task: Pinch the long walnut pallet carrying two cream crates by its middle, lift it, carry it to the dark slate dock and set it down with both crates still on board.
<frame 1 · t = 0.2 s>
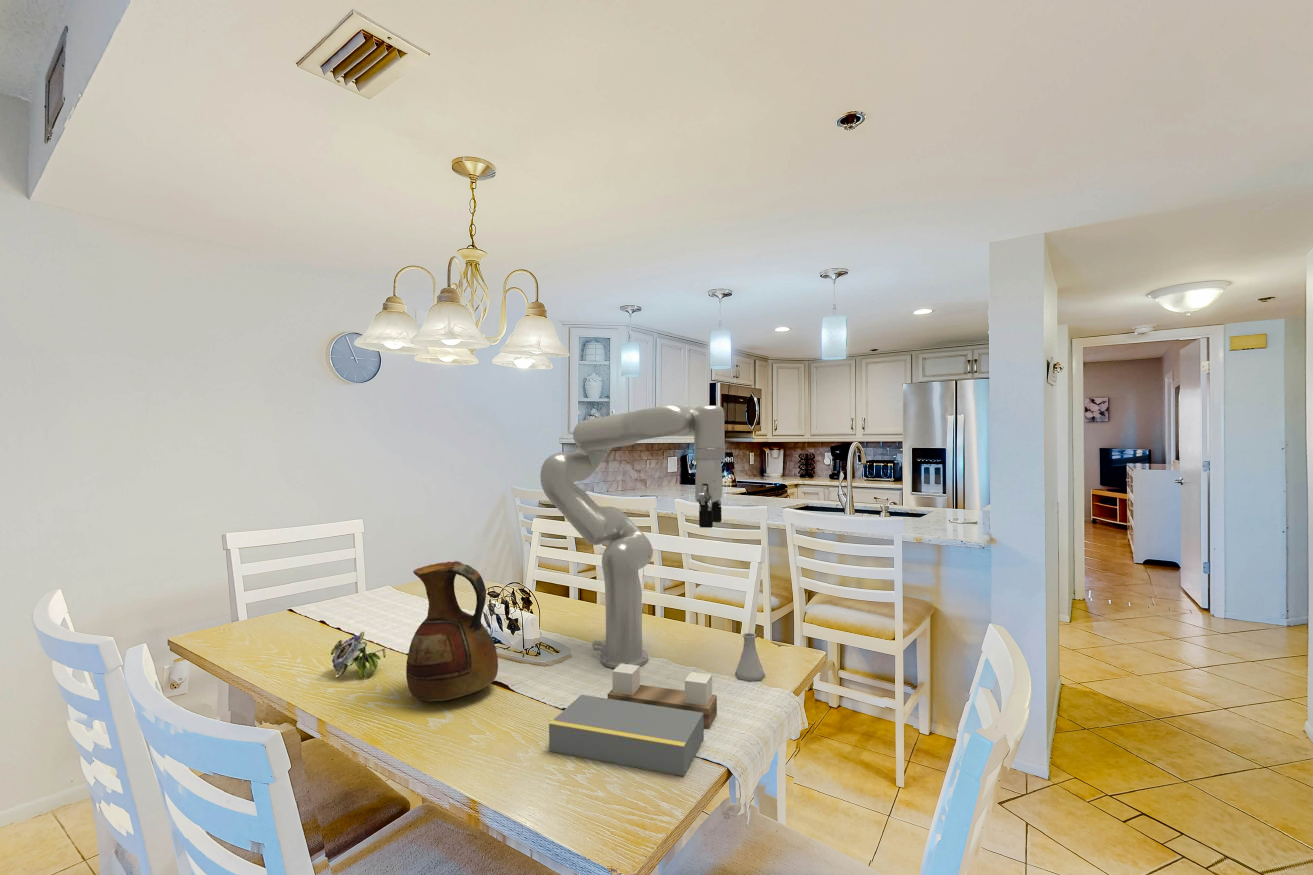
hand: (710, 524, 143), 36 cm above the table, tool pointing down, fingers open, 9 cm apart
passion flower: (356, 673, 145), on the table
pallet: (662, 713, 121), on the table, touching crate a, crate b
crate a: (626, 689, 123), point 4 cm above the table, touching pallet
dock: (627, 744, 108), on the table
flask: (750, 676, 140), on the table
crate b: (698, 699, 118), point 4 cm above the table, touching pallet
ceramic pitcher: (453, 693, 132), on the table
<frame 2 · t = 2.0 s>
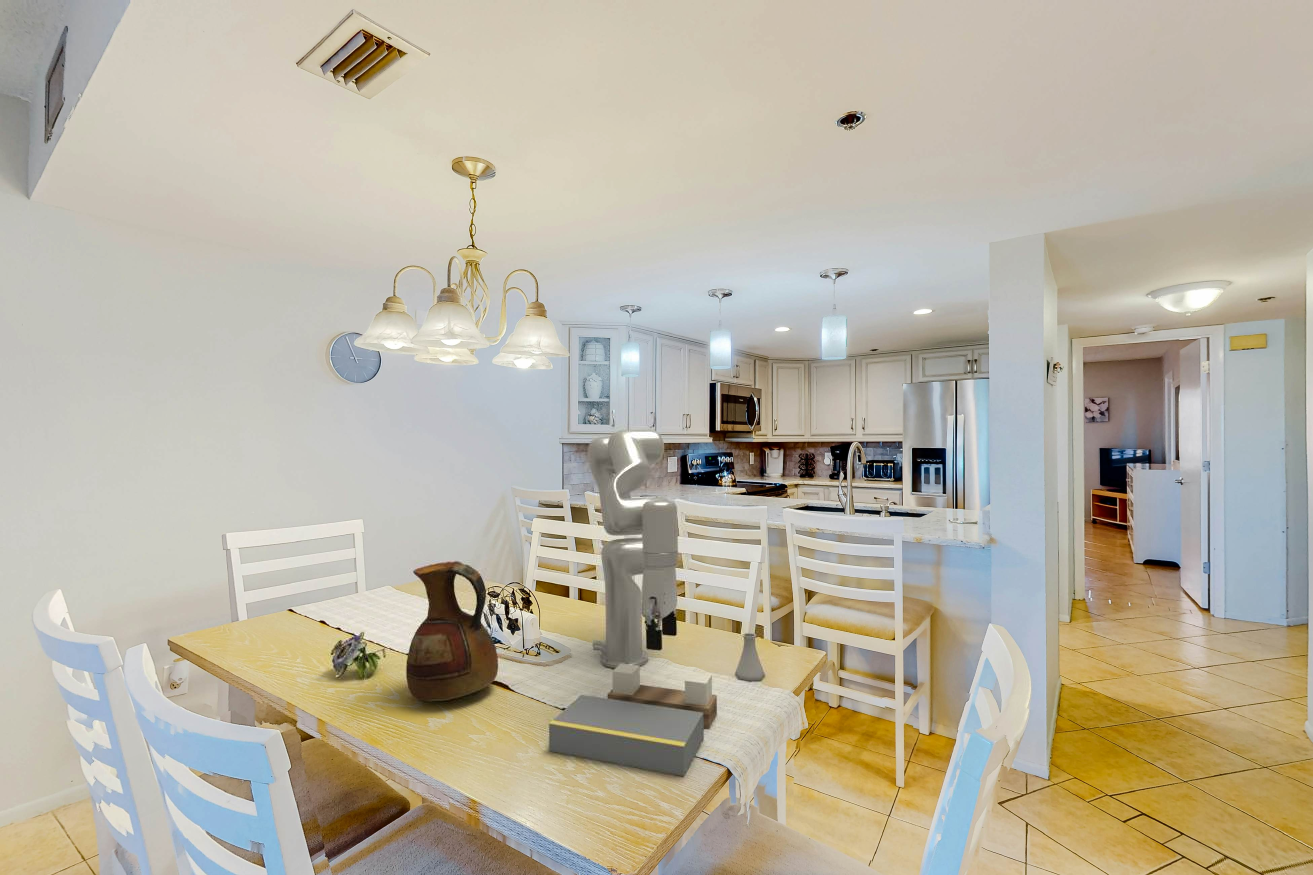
hand: (662, 641, 120), 15 cm above the table, tool pointing down, fingers open, 9 cm apart
nothing on the table moved.
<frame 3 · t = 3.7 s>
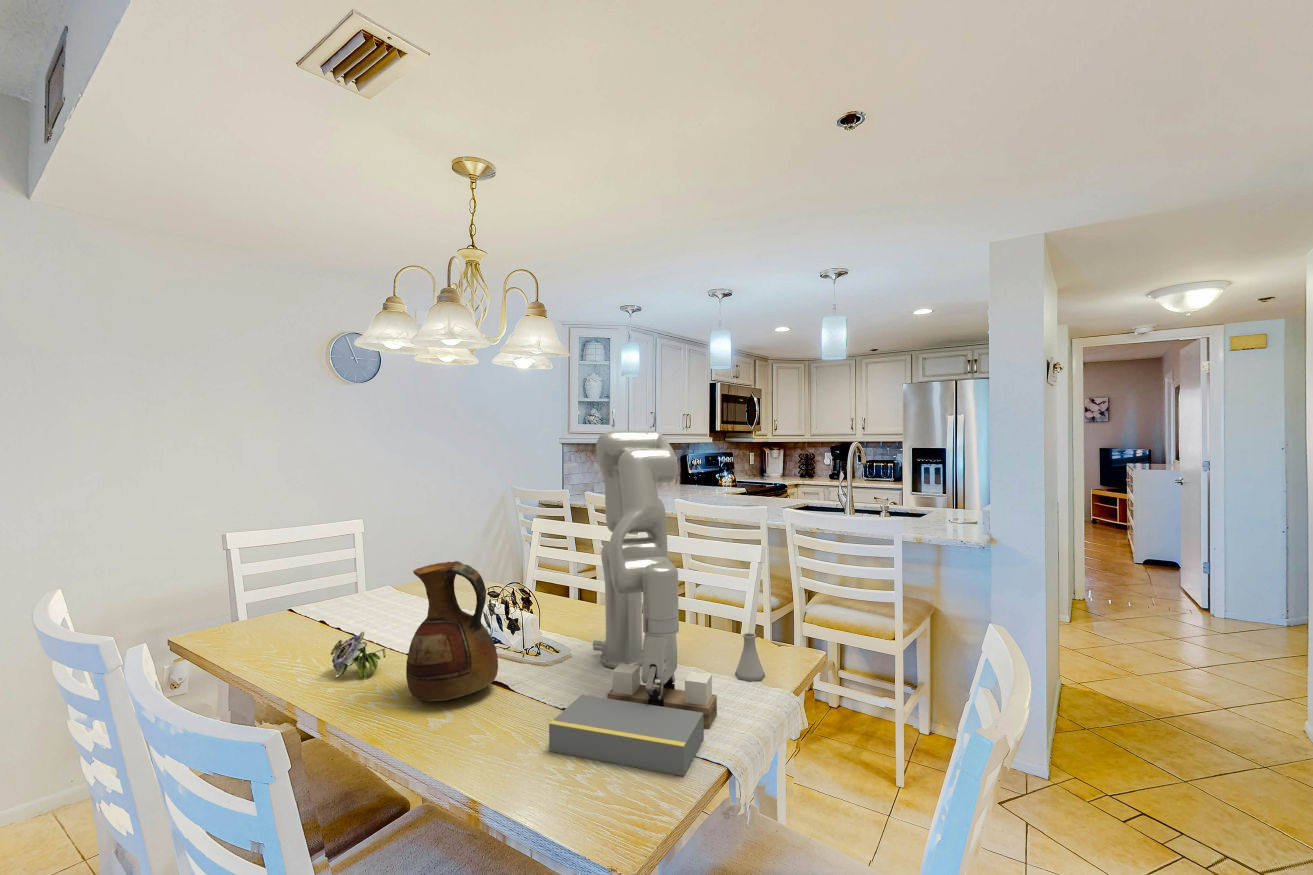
hand: (662, 708, 121), 1 cm above the table, tool pointing down, fingers closed on pallet, 6 cm apart
pallet: (662, 713, 121), on the table, touching crate a, crate b, gripper
everything else where it was.
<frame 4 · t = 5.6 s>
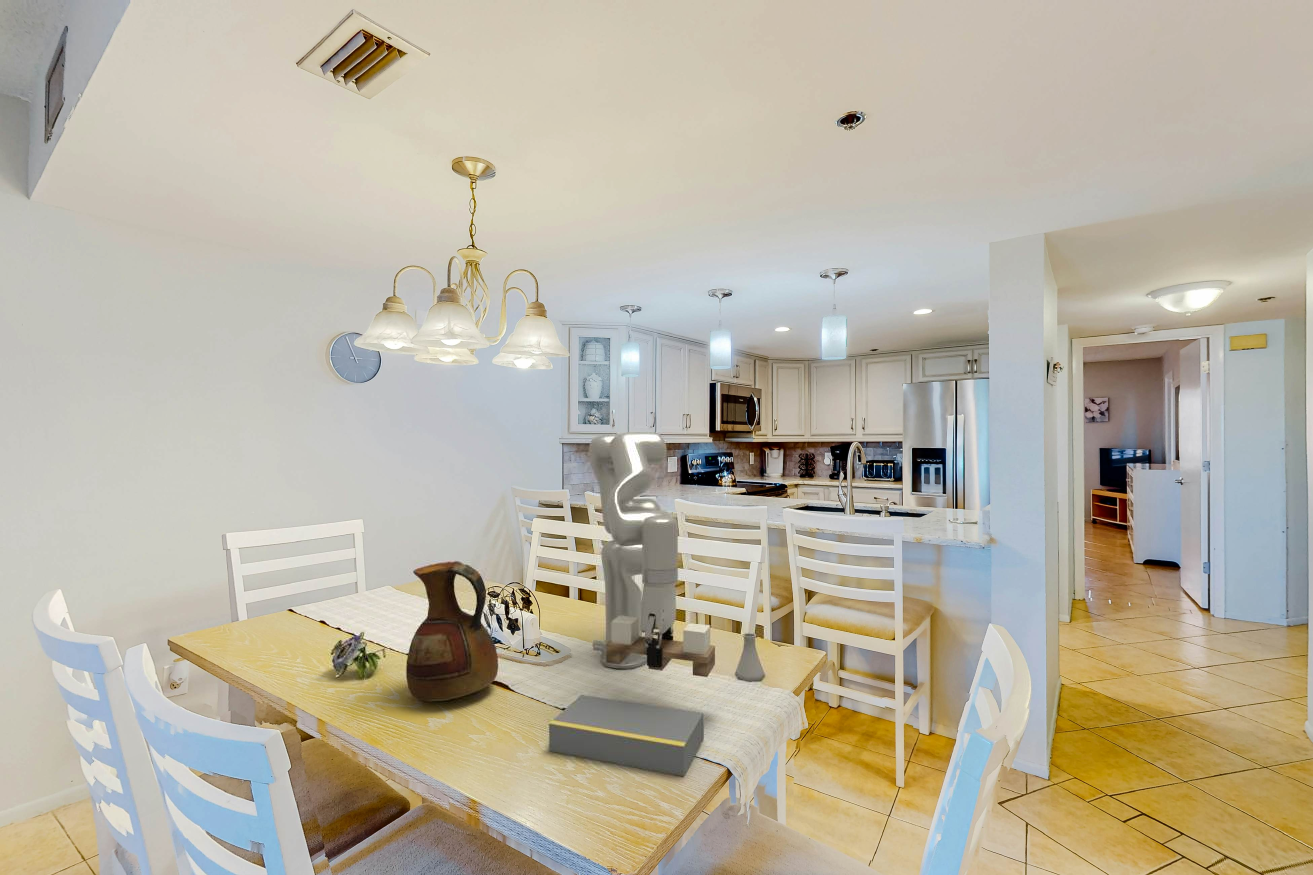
hand: (660, 658, 121), 11 cm above the table, tool pointing down, fingers closed on pallet, 6 cm apart
pallet: (660, 663, 121), point 10 cm above the table, touching crate a, crate b, gripper
crate a: (625, 640, 124), point 14 cm above the table, touching pallet
crate b: (696, 649, 119), point 14 cm above the table, touching pallet
everything else where it was.
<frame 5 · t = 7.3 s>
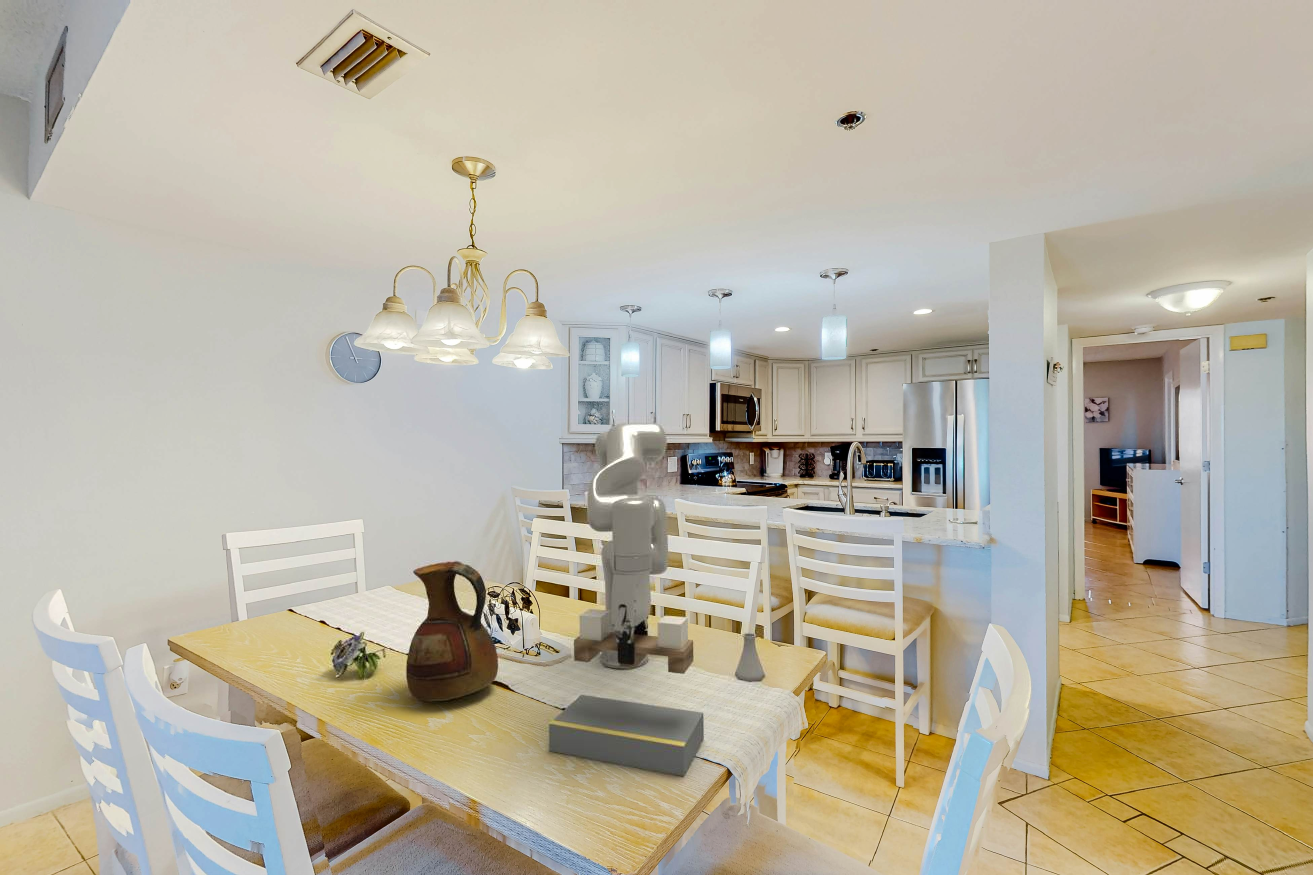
hand: (633, 655, 110), 16 cm above the table, tool pointing down, fingers closed on pallet, 6 cm apart
pallet: (633, 660, 110), point 15 cm above the table, touching crate a, crate b, gripper
crate a: (595, 635, 113), point 19 cm above the table, touching pallet
crate b: (673, 643, 108), point 19 cm above the table, touching pallet
everything else where it was.
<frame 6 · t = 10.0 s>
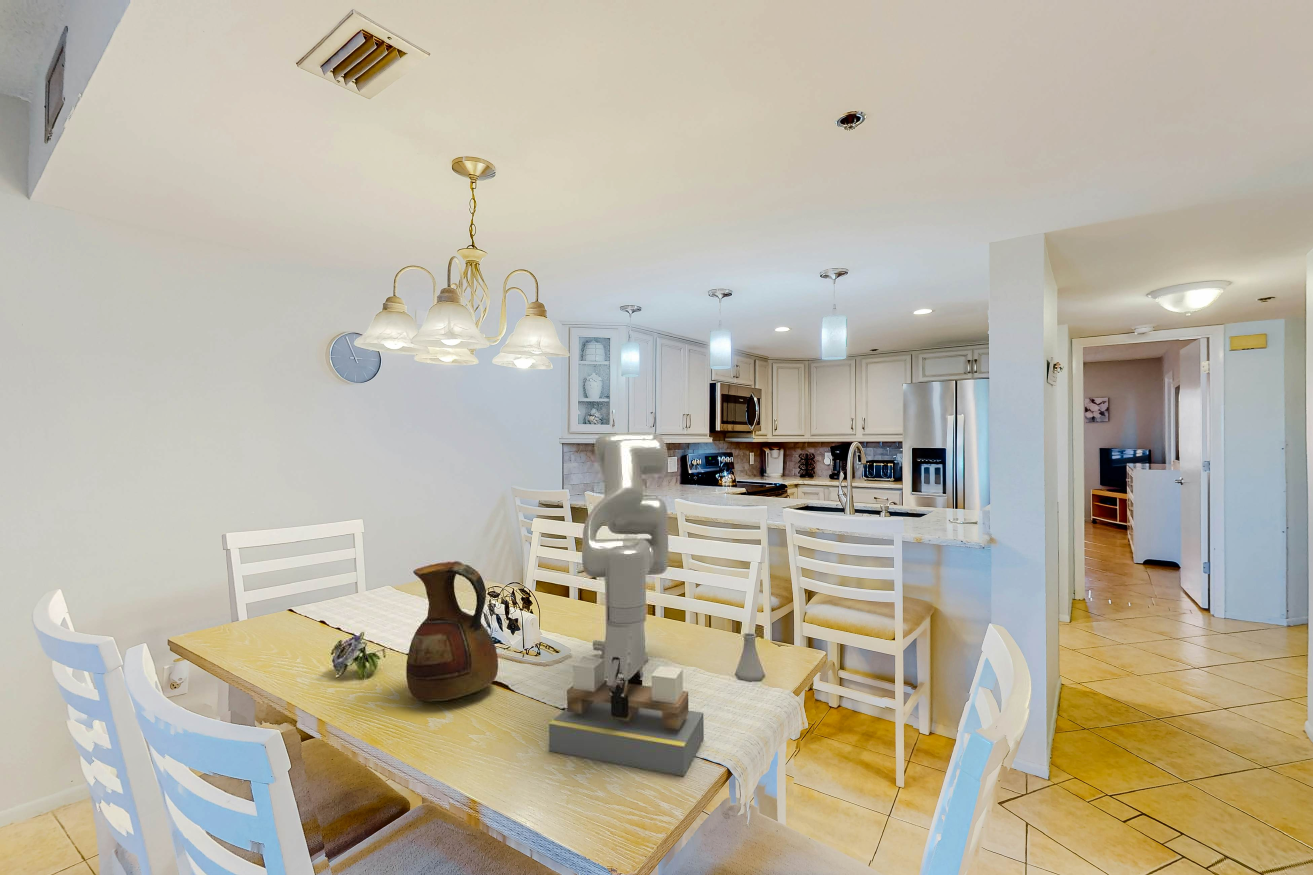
hand: (627, 706, 108), 7 cm above the table, tool pointing down, fingers closed on pallet, 6 cm apart
pallet: (627, 712, 108), point 6 cm above the table, touching crate a, crate b, gripper
crate a: (588, 685, 111), point 10 cm above the table, touching pallet
crate b: (667, 696, 106), point 10 cm above the table, touching pallet
everything else where it was.
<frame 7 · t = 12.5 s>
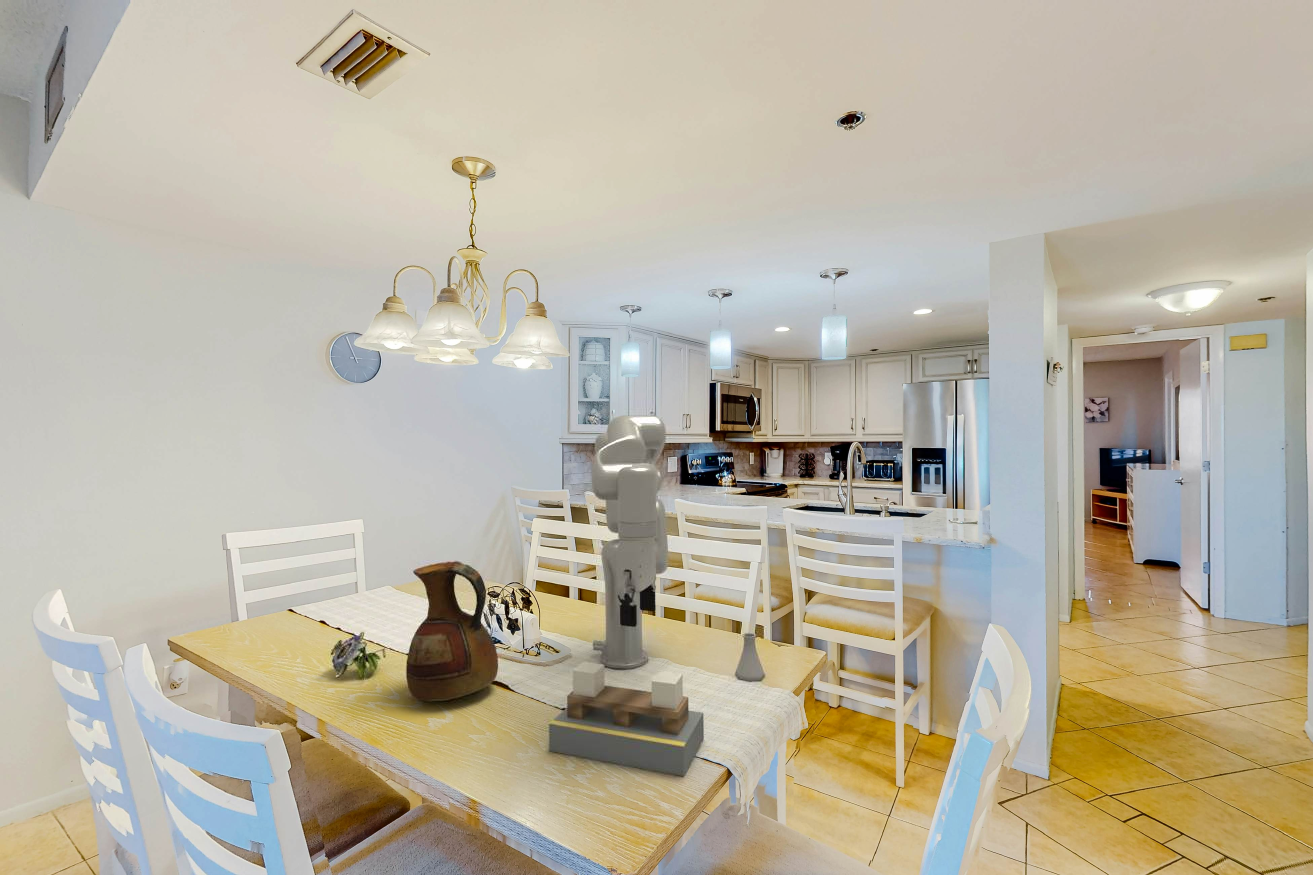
hand: (638, 617, 112), 23 cm above the table, tool pointing down, fingers open, 9 cm apart
pallet: (627, 717, 108), point 5 cm above the table, touching crate a, crate b, dock
crate a: (588, 690, 111), point 9 cm above the table, touching pallet
crate b: (667, 702, 106), point 9 cm above the table, touching pallet
everything else where it was.
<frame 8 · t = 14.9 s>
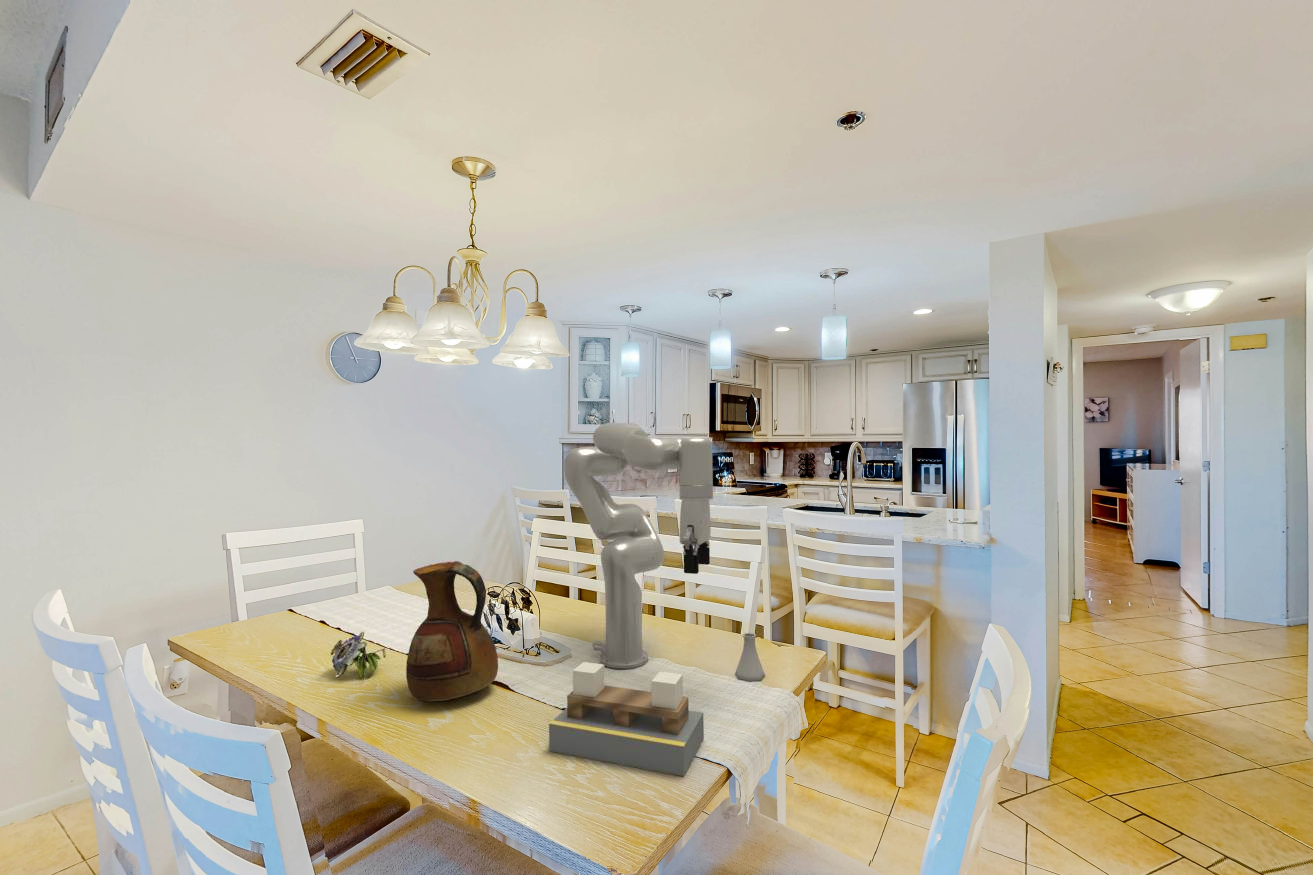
hand: (697, 568, 130), 28 cm above the table, tool pointing down, fingers open, 9 cm apart
nothing on the table moved.
at the end: pallet inside the target area on the dock (0.2 cm from its centre), point 5.0 cm above the dock's base; crate a inside the target area on the pallet (0.8 cm from its centre), point 4.0 cm above the pallet's base; crate b inside the target area on the pallet (0.8 cm from its centre), point 4.0 cm above the pallet's base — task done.
